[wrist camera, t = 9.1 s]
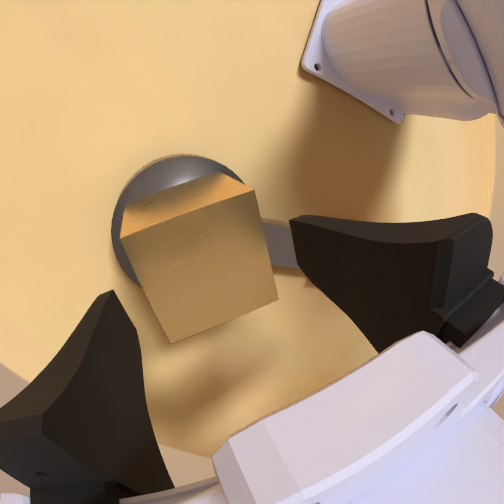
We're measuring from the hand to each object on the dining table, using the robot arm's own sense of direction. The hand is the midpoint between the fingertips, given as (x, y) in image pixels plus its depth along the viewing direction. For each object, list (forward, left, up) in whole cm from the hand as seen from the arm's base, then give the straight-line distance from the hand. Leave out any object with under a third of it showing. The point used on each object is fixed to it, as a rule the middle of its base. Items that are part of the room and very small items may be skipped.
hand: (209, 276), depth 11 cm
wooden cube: (0, 0, -5) cm, 5 cm away
